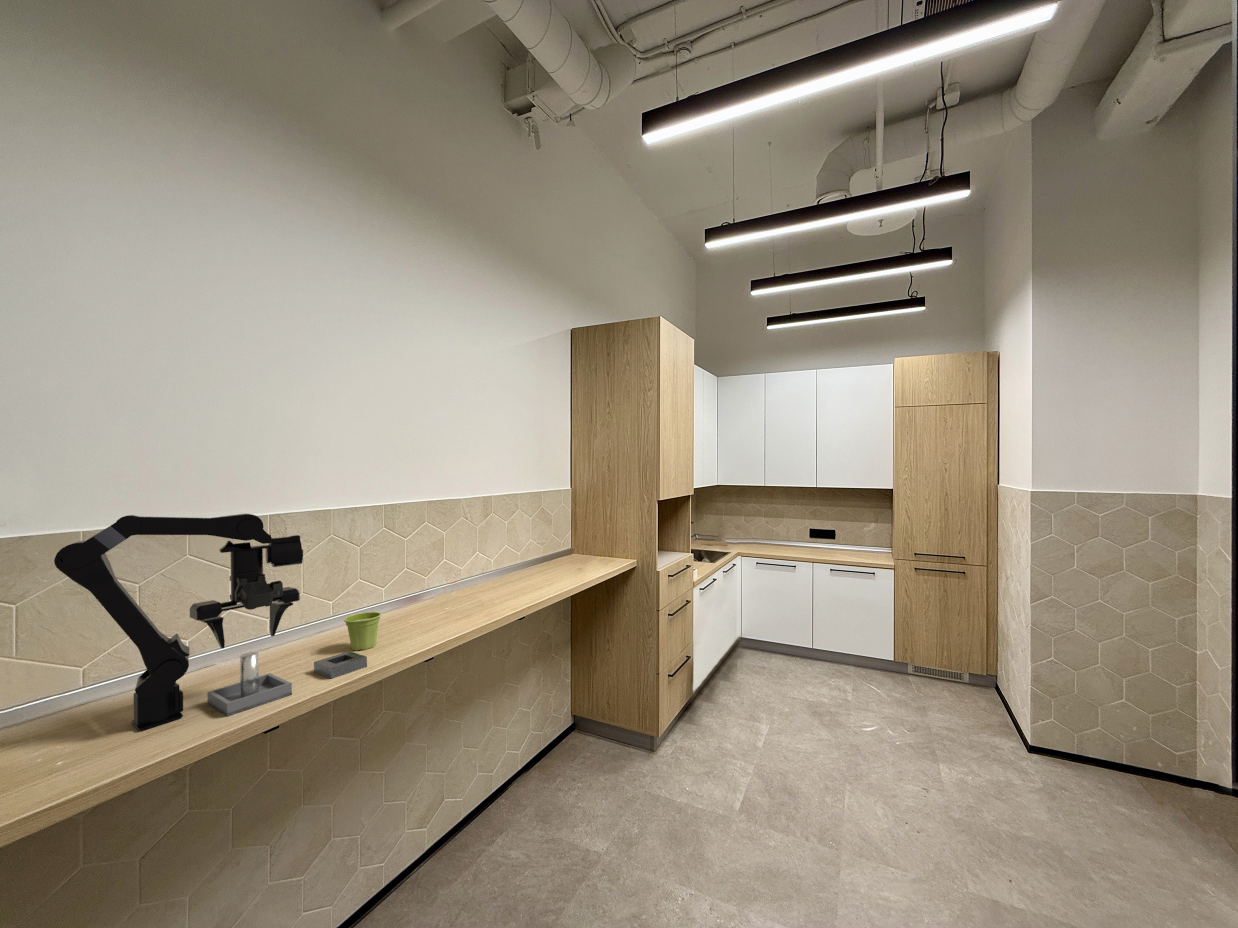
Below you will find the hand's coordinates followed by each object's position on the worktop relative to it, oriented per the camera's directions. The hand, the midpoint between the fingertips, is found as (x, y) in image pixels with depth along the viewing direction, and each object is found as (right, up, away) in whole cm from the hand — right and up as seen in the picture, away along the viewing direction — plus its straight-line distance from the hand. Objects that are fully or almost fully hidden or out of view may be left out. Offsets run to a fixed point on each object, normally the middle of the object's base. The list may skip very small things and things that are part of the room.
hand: (248, 641), depth 108 cm
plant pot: (+9, -13, +31) cm, 35 cm away
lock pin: (+2, -11, -2) cm, 12 cm away
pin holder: (+12, -12, +14) cm, 22 cm away
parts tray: (+2, -12, -2) cm, 12 cm away
